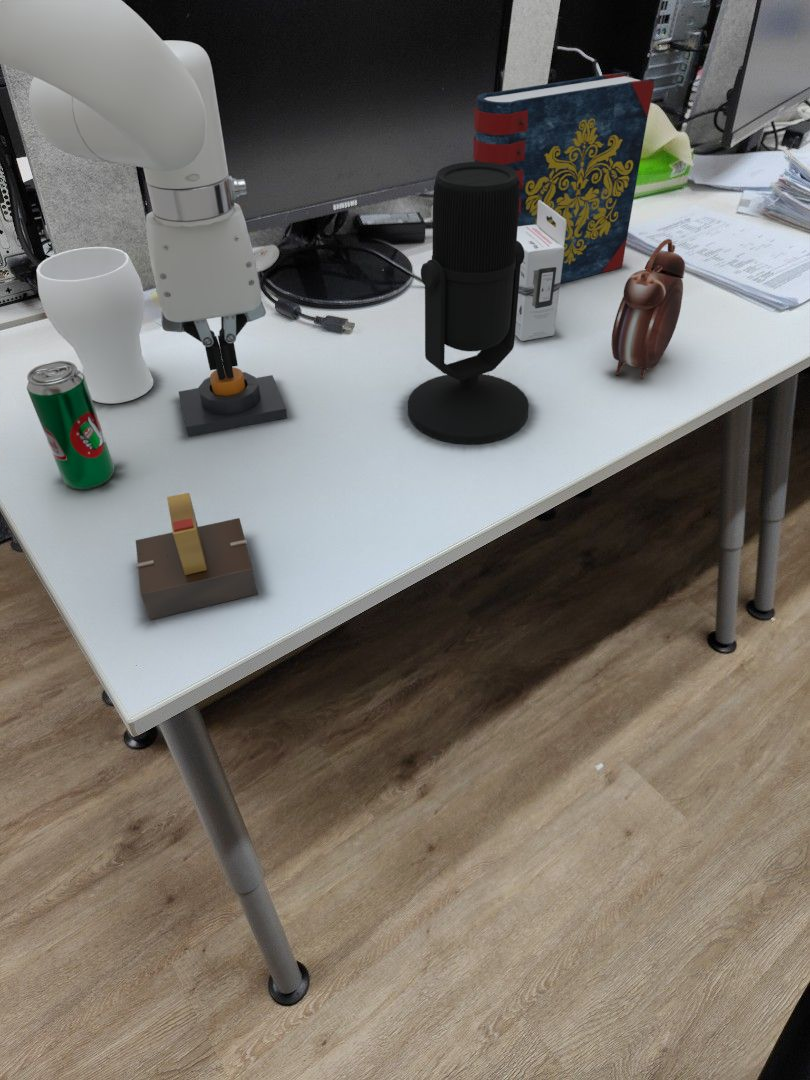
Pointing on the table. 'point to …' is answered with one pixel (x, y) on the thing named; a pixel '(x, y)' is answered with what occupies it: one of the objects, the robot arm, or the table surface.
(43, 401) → the soda can
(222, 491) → the table surface
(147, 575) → the plate
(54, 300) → the cup
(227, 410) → the block
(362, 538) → the table surface
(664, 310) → the alarm clock
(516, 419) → the microphone
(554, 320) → the ink box
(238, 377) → the bell button
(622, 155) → the book
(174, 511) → the lock knob
